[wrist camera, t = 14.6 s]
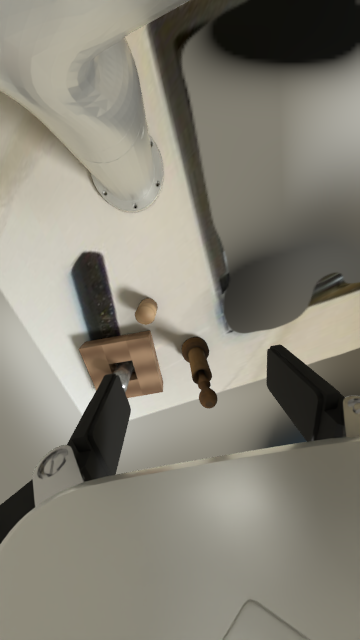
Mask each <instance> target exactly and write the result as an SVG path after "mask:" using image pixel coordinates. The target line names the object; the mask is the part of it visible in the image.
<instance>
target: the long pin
mask: <svg viewBox="0 0 360 640" xmlns="http://www.w3.org/2000/svg"><path fill="white" fill-rule="evenodd" d="M133 367H134V365H133V362H132V360H131V361H125V362H119V363H118V364H117V366H116V369H115V371H114V373H115V374H116V375H119V377H120V380H121V383H122V385H123V388H124V391H125V392H126V390H127V387H128V383H129V380H130V377H131V374H132V371H133Z"/></svg>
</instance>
